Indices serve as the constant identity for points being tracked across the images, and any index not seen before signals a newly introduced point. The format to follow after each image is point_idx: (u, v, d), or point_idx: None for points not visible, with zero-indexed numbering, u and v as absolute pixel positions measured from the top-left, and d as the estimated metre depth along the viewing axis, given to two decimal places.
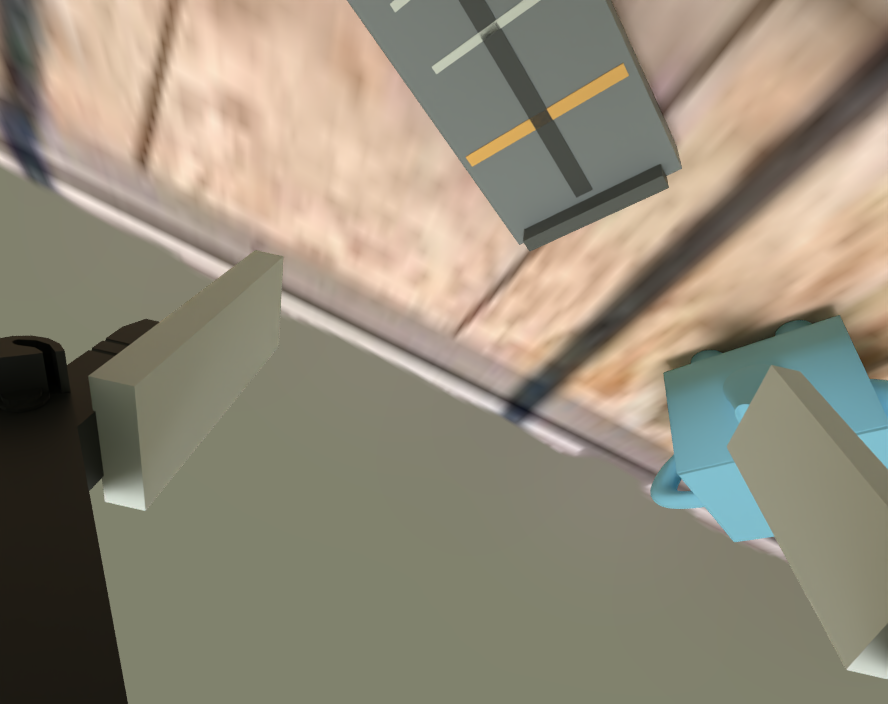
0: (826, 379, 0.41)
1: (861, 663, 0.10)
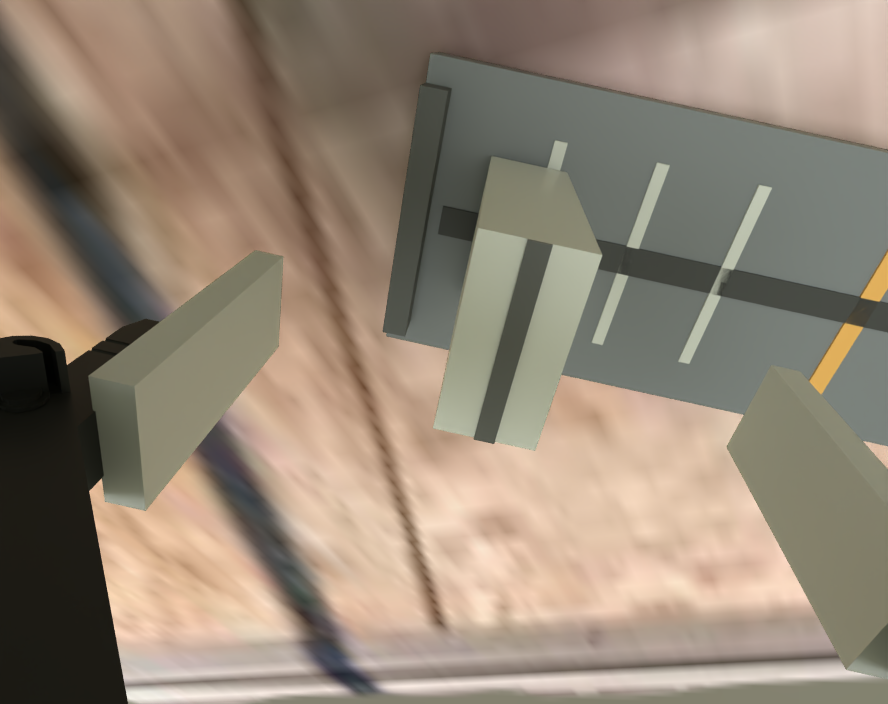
0: None
1: (861, 663, 0.10)
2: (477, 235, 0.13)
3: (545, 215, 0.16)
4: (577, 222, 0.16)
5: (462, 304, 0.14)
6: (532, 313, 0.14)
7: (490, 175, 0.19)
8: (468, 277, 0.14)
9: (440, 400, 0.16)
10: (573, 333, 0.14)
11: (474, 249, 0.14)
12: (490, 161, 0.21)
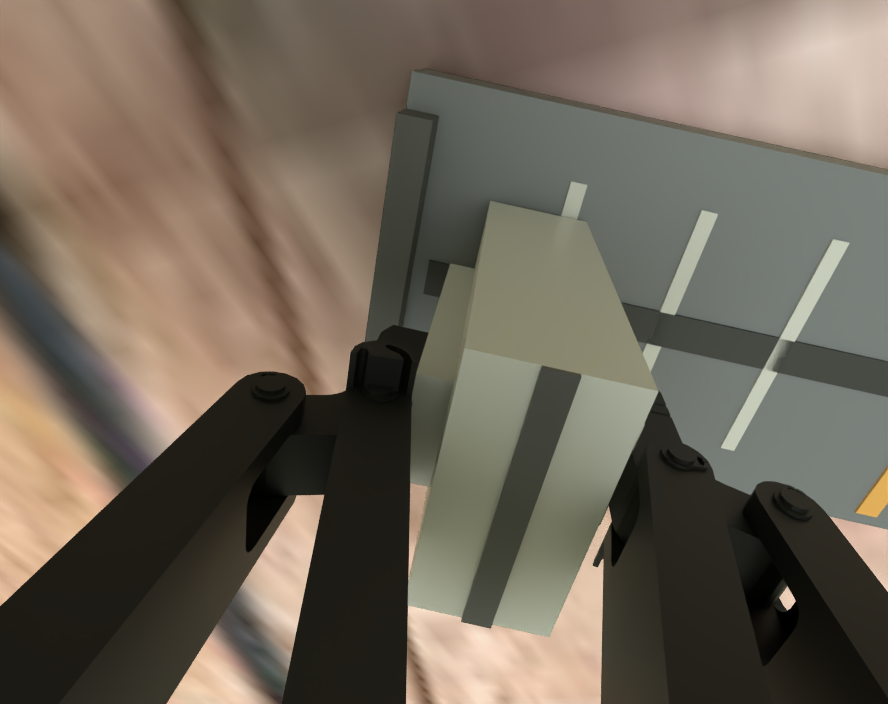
0: None
1: None
2: (463, 358, 0.09)
3: (565, 307, 0.11)
4: (611, 318, 0.11)
5: (442, 451, 0.10)
6: (548, 468, 0.09)
7: (487, 235, 0.14)
8: (450, 416, 0.09)
9: (413, 570, 0.11)
10: (609, 494, 0.10)
11: (459, 377, 0.09)
12: (488, 210, 0.16)
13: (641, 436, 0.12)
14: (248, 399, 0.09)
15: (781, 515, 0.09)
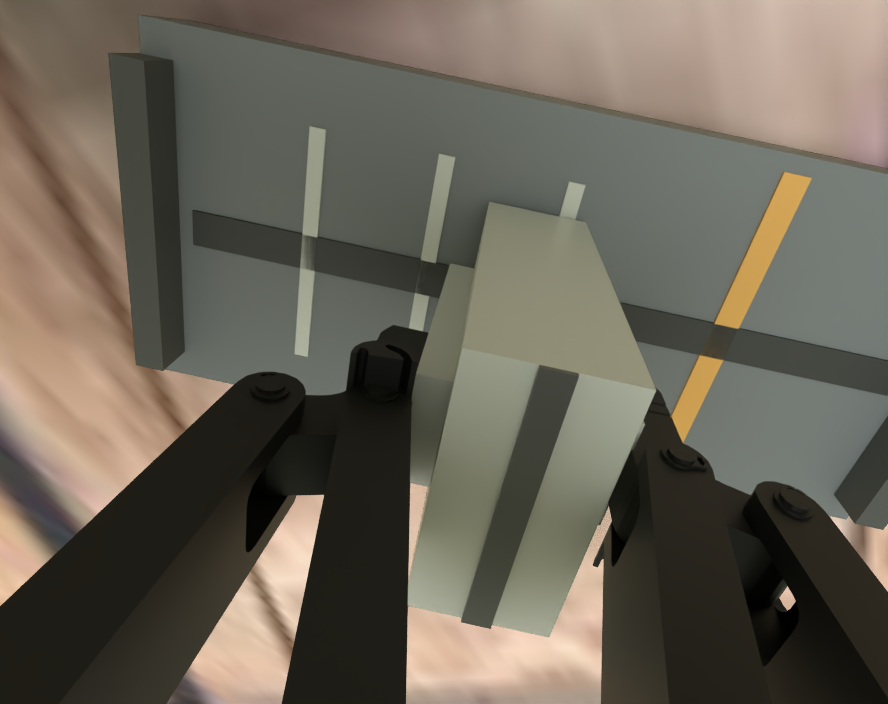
0: None
1: None
2: (461, 358, 0.09)
3: (563, 307, 0.11)
4: (609, 317, 0.11)
5: (441, 451, 0.10)
6: (546, 467, 0.09)
7: (486, 235, 0.14)
8: (449, 415, 0.09)
9: (412, 571, 0.11)
10: (608, 494, 0.10)
11: (457, 377, 0.09)
12: (487, 211, 0.16)
13: (641, 436, 0.12)
14: (248, 399, 0.09)
15: (781, 515, 0.09)
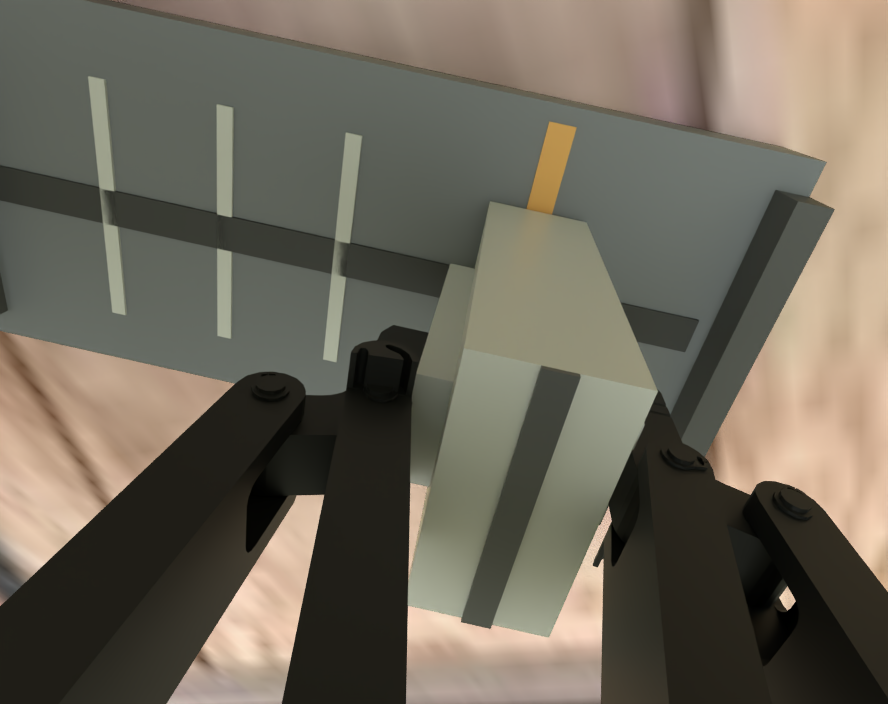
0: None
1: None
2: (463, 358, 0.09)
3: (564, 307, 0.11)
4: (611, 318, 0.11)
5: (441, 451, 0.10)
6: (548, 467, 0.09)
7: (487, 235, 0.14)
8: (450, 416, 0.09)
9: (413, 571, 0.11)
10: (608, 494, 0.10)
11: (458, 377, 0.09)
12: (488, 210, 0.16)
13: (641, 436, 0.12)
14: (248, 399, 0.09)
15: (781, 515, 0.09)
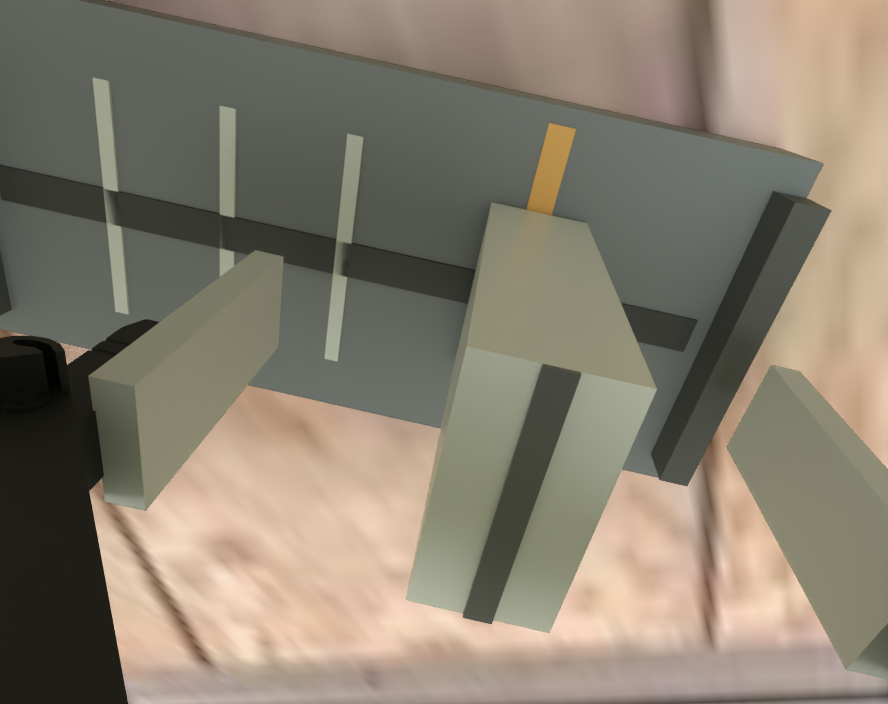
0: None
1: (861, 663, 0.10)
2: (465, 357, 0.09)
3: (565, 307, 0.11)
4: (611, 317, 0.11)
5: (444, 448, 0.10)
6: (549, 464, 0.09)
7: (489, 236, 0.14)
8: (453, 413, 0.09)
9: (415, 567, 0.11)
10: (608, 491, 0.10)
11: (461, 375, 0.09)
12: (489, 211, 0.16)
13: None
14: None
15: None
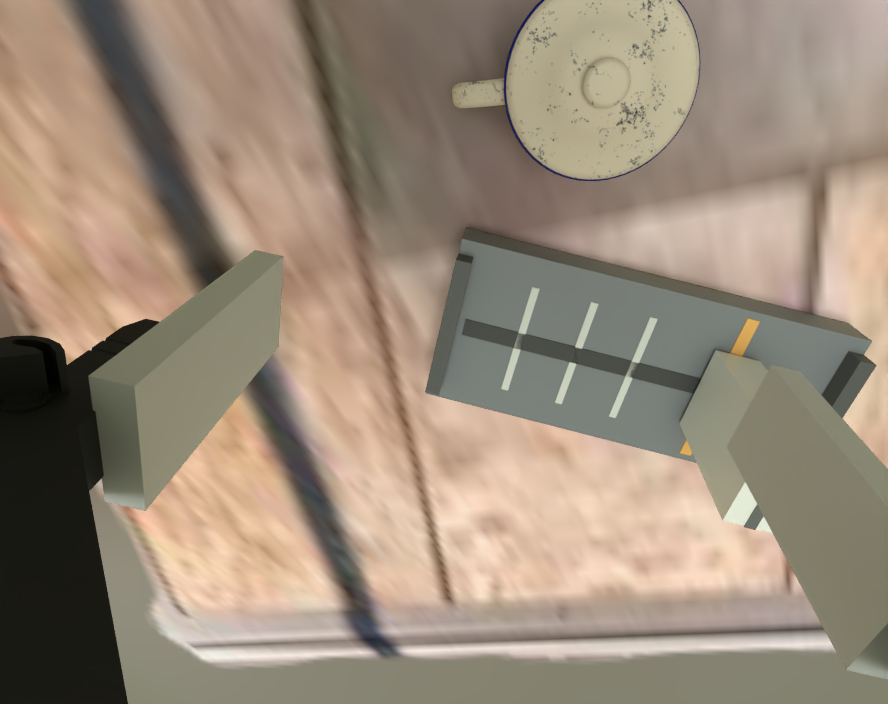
0: None
1: (862, 663, 0.10)
2: None
3: None
4: None
5: None
6: None
7: (735, 376, 0.34)
8: None
9: (730, 507, 0.31)
10: None
11: None
12: (721, 358, 0.36)
13: None
14: None
15: None
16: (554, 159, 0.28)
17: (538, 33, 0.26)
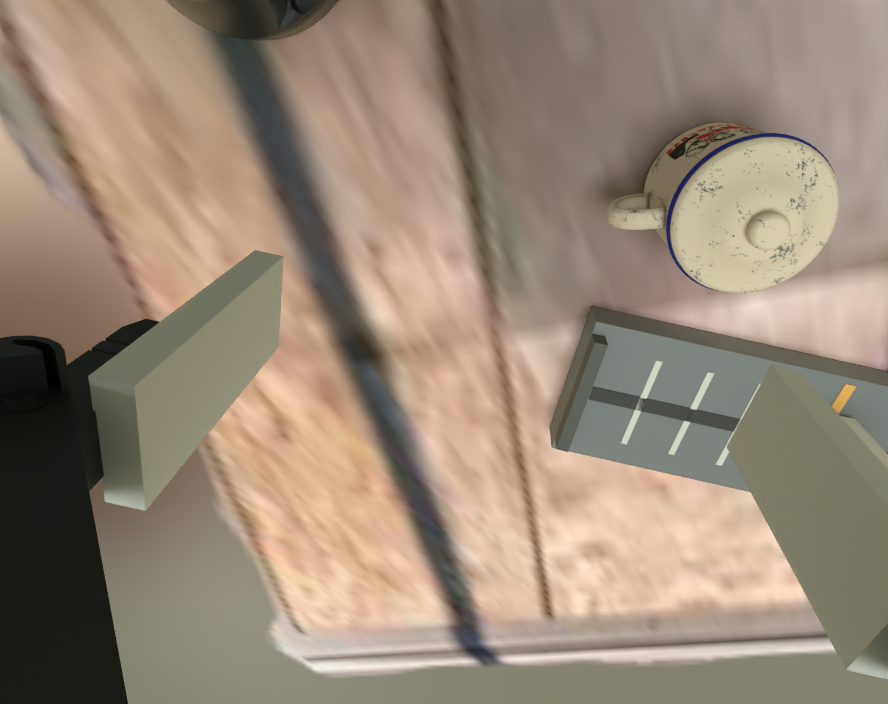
0: None
1: (861, 663, 0.10)
2: None
3: None
4: None
5: None
6: None
7: None
8: None
9: None
10: None
11: None
12: None
13: None
14: None
15: None
16: (708, 279, 0.33)
17: (706, 185, 0.31)
